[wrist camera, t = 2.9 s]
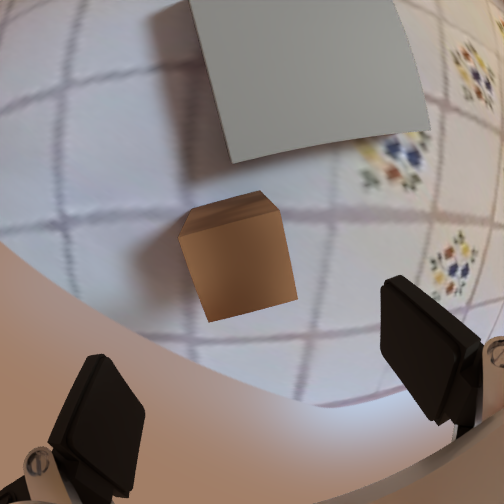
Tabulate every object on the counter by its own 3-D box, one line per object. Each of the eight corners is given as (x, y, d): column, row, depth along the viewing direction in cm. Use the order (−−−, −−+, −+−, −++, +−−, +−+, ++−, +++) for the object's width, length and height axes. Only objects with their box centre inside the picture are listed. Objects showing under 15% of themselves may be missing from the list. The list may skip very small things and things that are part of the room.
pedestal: (355, -14, 14) (375, -34, 10) (400, 130, 19) (431, 130, 15) (187, -2, 14) (182, -29, 10) (230, 161, 19) (232, 163, 15)
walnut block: (259, 190, 20) (279, 210, 13) (274, 254, 22) (297, 299, 15) (191, 208, 20) (177, 237, 13) (211, 271, 22) (208, 322, 15)
